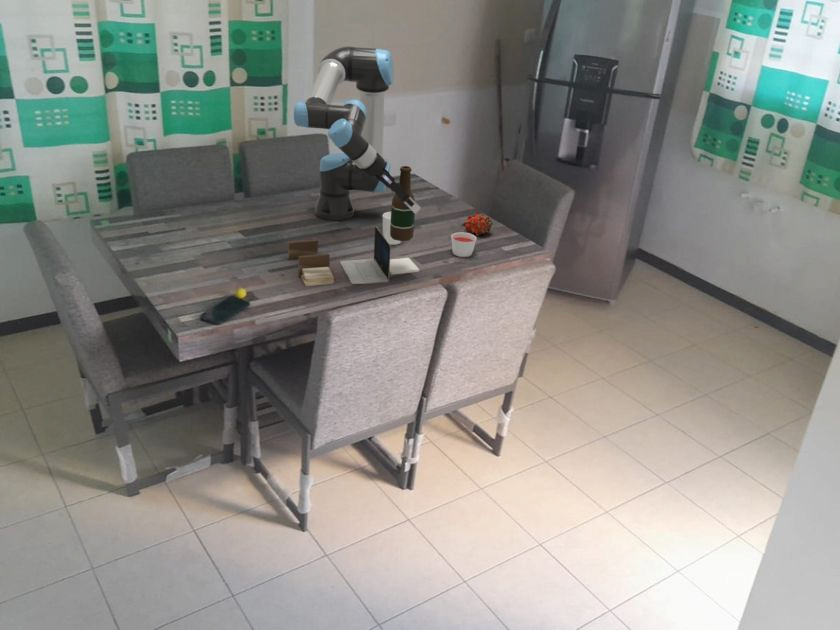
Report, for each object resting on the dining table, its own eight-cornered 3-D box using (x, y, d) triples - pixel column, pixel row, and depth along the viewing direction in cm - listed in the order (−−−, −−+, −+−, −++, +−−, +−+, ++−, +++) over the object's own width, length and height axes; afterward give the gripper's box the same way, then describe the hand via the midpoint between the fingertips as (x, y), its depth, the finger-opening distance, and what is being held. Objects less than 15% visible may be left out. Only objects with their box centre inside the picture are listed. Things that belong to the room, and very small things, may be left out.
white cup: (400, 246, 284) (401, 220, 280) (379, 243, 285) (380, 217, 281) (405, 238, 291) (406, 213, 286) (384, 235, 292) (385, 210, 288)
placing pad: (381, 262, 271) (381, 260, 271) (408, 259, 274) (408, 257, 274) (391, 274, 263) (391, 272, 262) (419, 271, 266) (419, 269, 266)
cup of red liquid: (477, 258, 280) (479, 242, 277) (452, 258, 278) (454, 242, 275) (471, 248, 287) (473, 232, 284) (447, 248, 286) (449, 232, 283)
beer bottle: (401, 230, 267) (406, 162, 256) (417, 238, 262) (423, 168, 251) (384, 235, 262) (388, 165, 251) (400, 243, 257) (405, 172, 246)
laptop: (339, 263, 269) (340, 227, 263) (374, 260, 273) (376, 225, 267) (352, 285, 254) (353, 248, 248) (389, 282, 258) (391, 246, 252)
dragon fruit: (493, 238, 301) (462, 242, 301) (489, 219, 305) (458, 223, 304) (495, 226, 294) (464, 230, 293) (491, 207, 297) (460, 211, 296)
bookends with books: (288, 258, 269) (288, 239, 266) (316, 255, 272) (316, 236, 269) (304, 286, 251) (304, 266, 247) (335, 283, 254) (335, 263, 251)
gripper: (350, 159, 254) (395, 204, 267) (370, 179, 238) (416, 225, 251) (366, 142, 253) (410, 188, 267) (387, 161, 237) (433, 208, 250)
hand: (413, 206), depth 259 cm, fingers closed on beer bottle, 7 cm apart
